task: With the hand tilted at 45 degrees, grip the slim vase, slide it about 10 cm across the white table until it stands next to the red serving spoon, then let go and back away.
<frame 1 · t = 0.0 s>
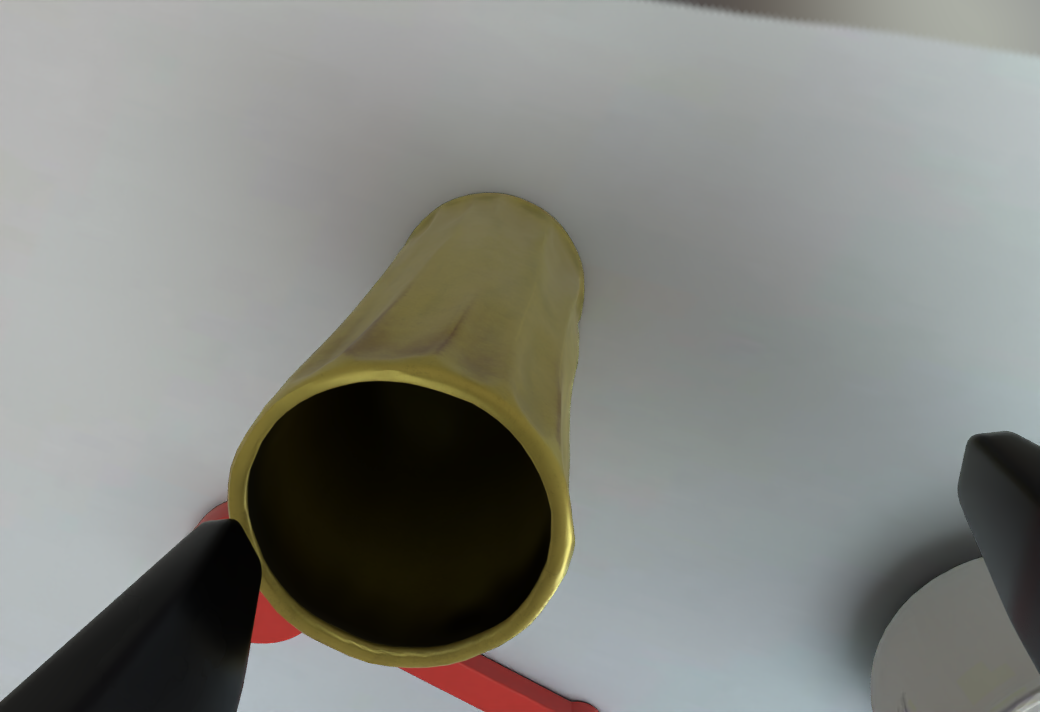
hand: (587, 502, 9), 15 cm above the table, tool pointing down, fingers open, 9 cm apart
spoon: (264, 559, 28), on the table
teacup: (1009, 652, 28), on the table
vase: (491, 284, 24), on the table
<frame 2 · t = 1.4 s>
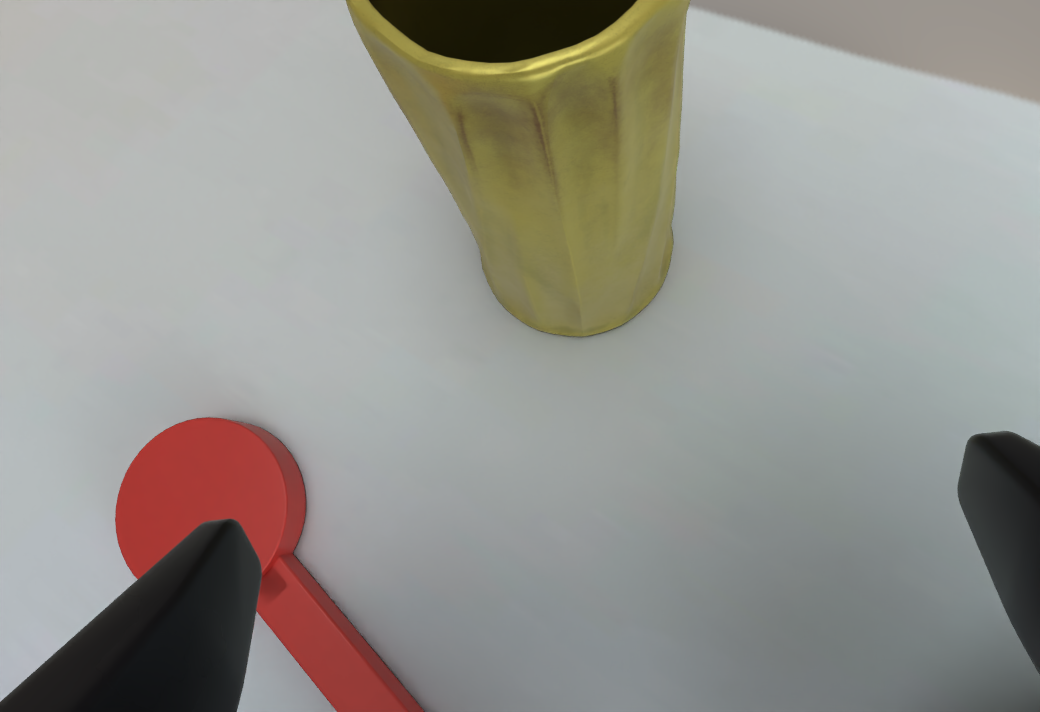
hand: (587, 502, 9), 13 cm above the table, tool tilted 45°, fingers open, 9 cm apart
spoon: (223, 508, 24), on the table
vase: (575, 247, 24), on the table
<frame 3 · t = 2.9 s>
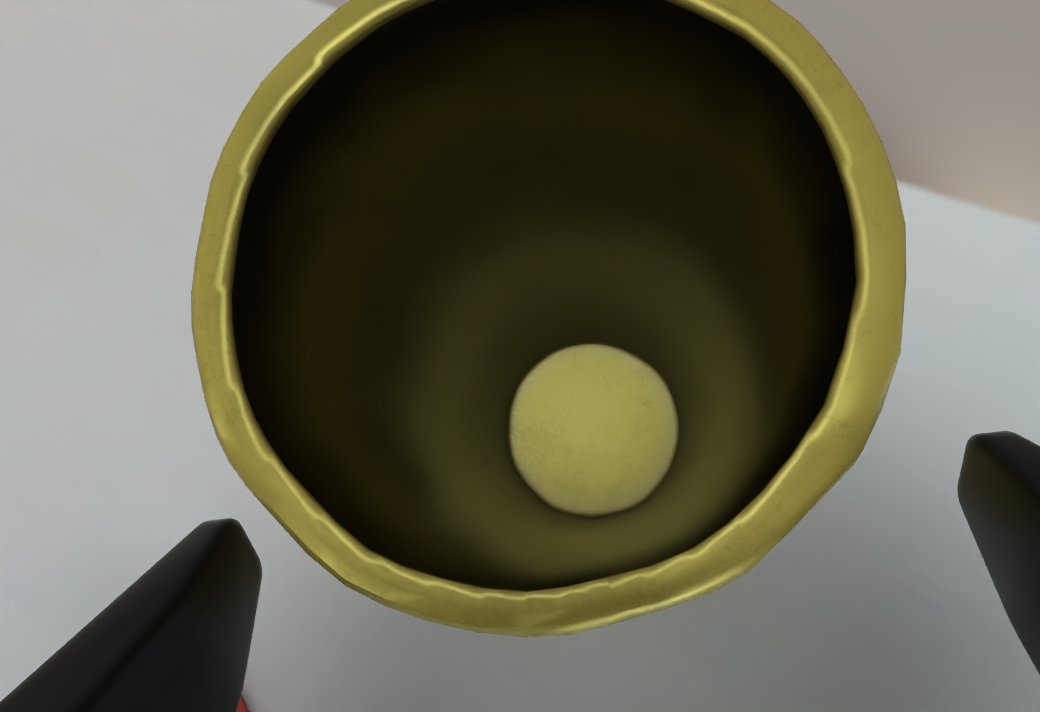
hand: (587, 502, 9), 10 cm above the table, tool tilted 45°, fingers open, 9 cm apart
vase: (594, 431, 19), on the table
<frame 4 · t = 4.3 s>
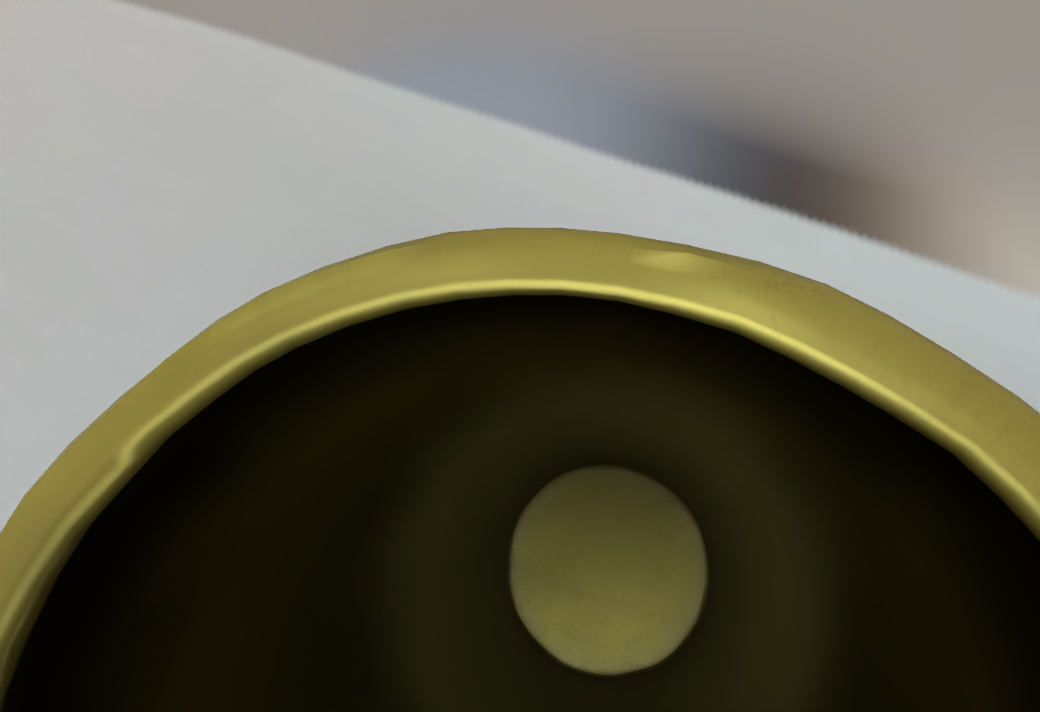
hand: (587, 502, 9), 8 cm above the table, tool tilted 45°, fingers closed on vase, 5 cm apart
vase: (608, 562, 17), on the table, touching gripper
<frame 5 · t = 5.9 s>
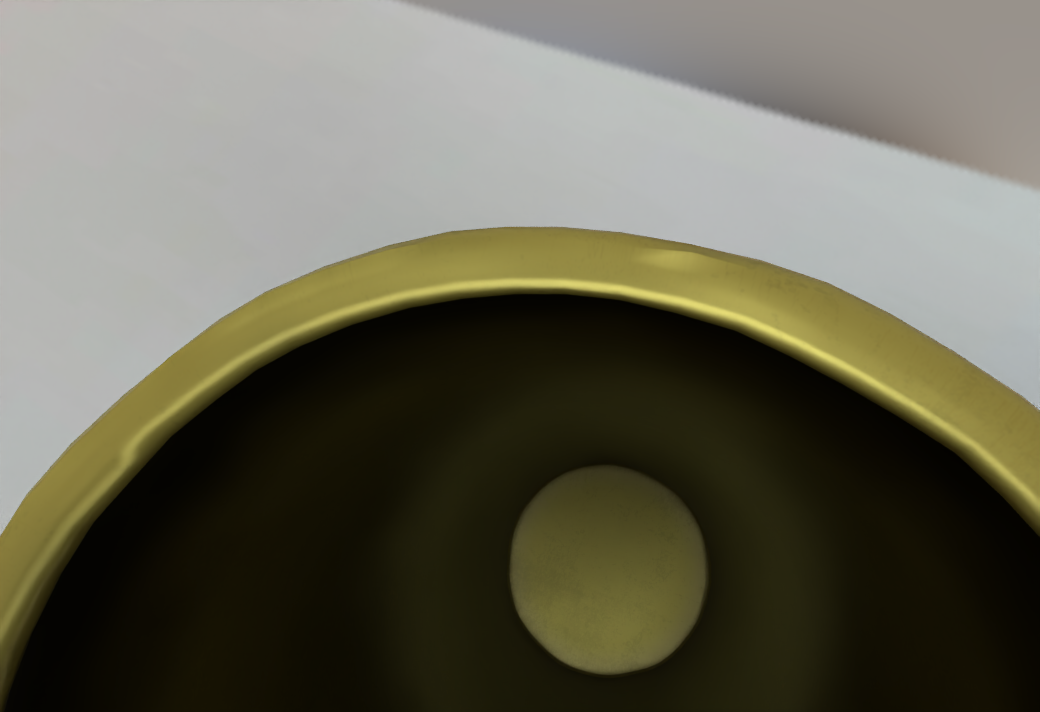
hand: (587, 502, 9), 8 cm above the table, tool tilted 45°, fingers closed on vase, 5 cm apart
vase: (608, 562, 17), on the table, touching gripper
when the fingers open (8 cm above the table, at t = 7.6 s): vase stays where it is, on the table.
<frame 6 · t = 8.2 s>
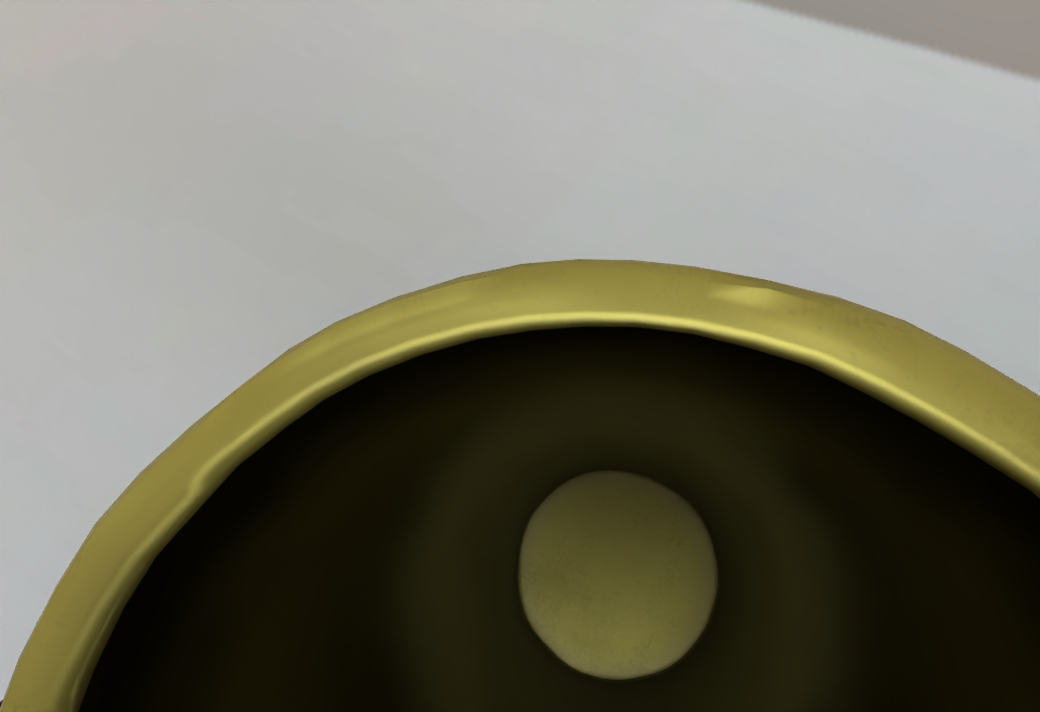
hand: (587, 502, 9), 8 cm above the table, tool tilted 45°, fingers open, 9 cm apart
vase: (616, 567, 17), on the table
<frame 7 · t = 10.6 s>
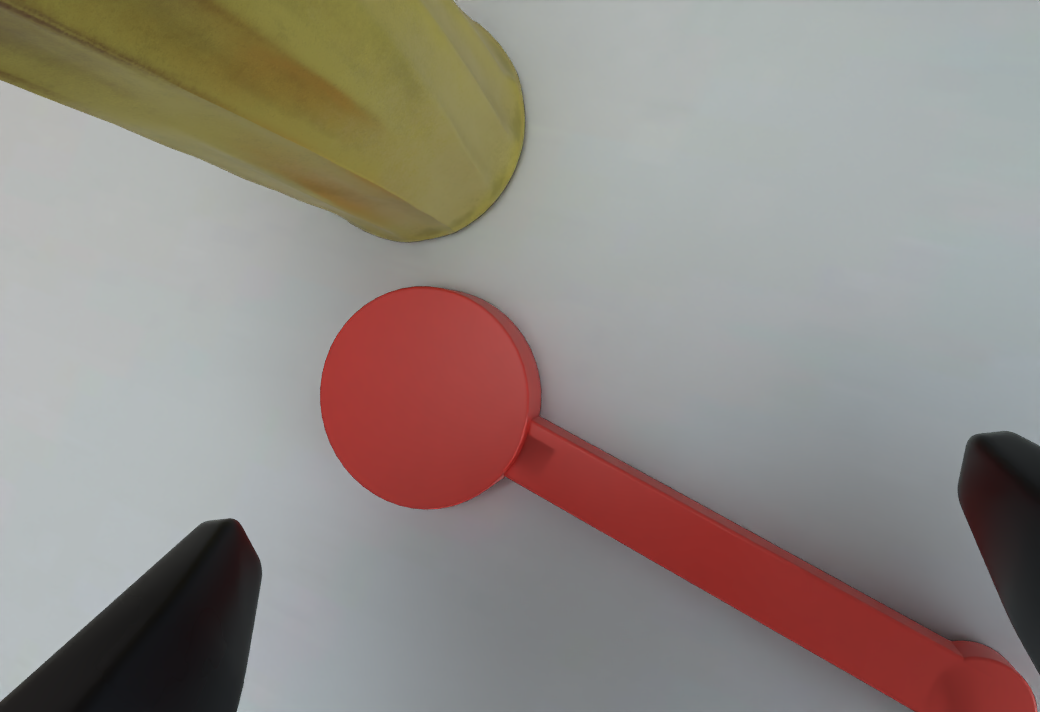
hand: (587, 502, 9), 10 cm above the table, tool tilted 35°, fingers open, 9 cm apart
spoon: (439, 394, 20), on the table
vase: (419, 130, 20), on the table
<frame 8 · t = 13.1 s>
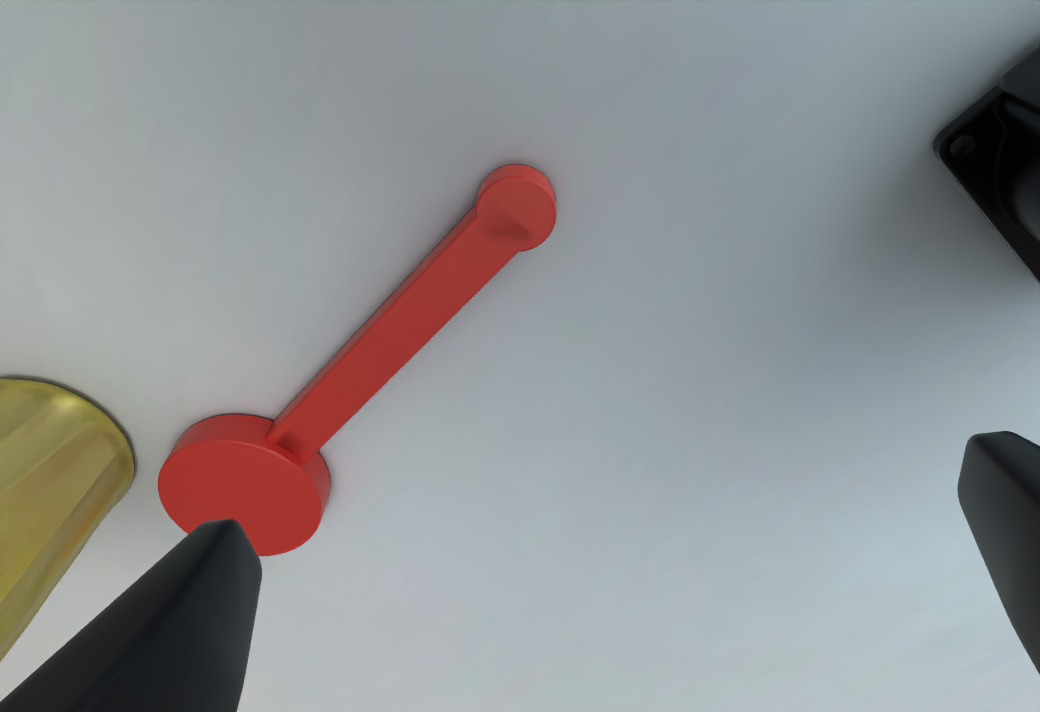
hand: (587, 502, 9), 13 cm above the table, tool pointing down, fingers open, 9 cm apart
spoon: (253, 474, 27), on the table
vase: (51, 441, 26), on the table
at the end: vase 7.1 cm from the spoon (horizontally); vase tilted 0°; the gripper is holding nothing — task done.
